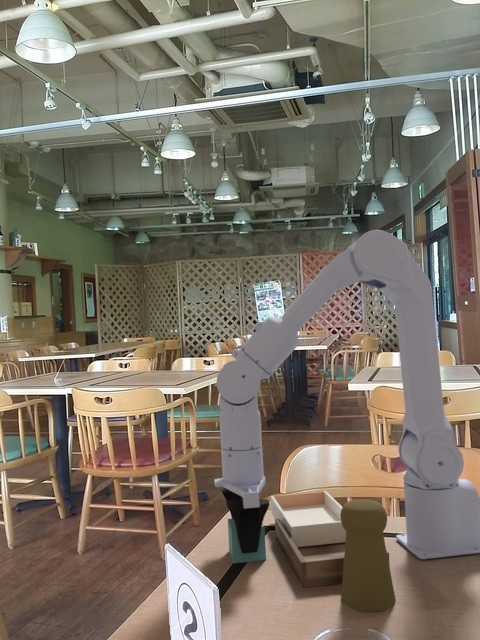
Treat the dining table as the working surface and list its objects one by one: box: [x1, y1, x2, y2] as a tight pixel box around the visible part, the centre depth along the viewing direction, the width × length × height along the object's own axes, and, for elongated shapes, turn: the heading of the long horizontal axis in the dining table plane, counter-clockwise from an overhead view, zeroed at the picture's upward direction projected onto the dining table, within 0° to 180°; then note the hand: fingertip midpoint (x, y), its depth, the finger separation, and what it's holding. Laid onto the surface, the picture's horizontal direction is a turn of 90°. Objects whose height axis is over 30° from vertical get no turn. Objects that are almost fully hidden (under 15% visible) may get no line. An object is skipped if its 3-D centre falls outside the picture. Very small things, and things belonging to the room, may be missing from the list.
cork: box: [340, 498, 397, 613], centre depth 65 cm, size 6×6×11 cm
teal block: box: [227, 517, 267, 564], centre depth 79 cm, size 4×4×4 cm
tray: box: [270, 490, 346, 547], centre depth 86 cm, size 9×15×3 cm, turn 8°
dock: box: [274, 518, 391, 588], centre depth 77 cm, size 11×16×3 cm
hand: (246, 544), depth 79 cm, fingers closed on teal block, 4 cm apart
